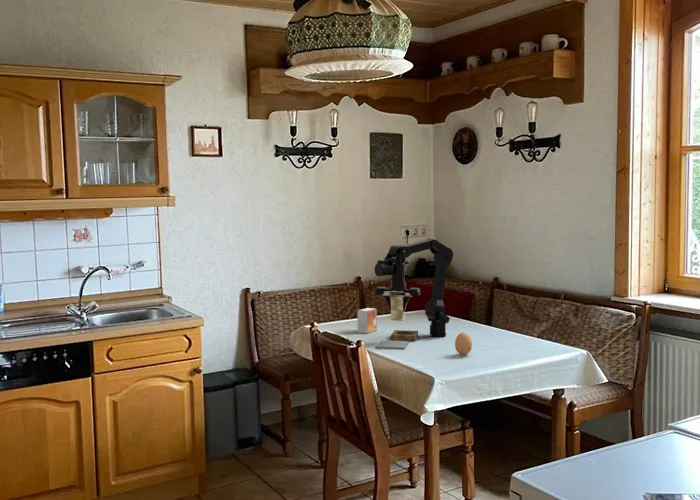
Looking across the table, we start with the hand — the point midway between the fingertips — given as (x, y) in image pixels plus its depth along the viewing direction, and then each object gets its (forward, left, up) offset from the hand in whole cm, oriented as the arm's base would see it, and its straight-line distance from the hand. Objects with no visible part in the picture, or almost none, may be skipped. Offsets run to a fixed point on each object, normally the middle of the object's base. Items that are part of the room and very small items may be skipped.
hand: (397, 311), depth 306 cm
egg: (-29, +19, -14) cm, 37 cm away
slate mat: (+1, +7, -13) cm, 15 cm away
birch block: (0, 0, -4) cm, 4 cm away
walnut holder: (-2, -8, -13) cm, 16 cm away
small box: (+17, -20, -14) cm, 30 cm away
